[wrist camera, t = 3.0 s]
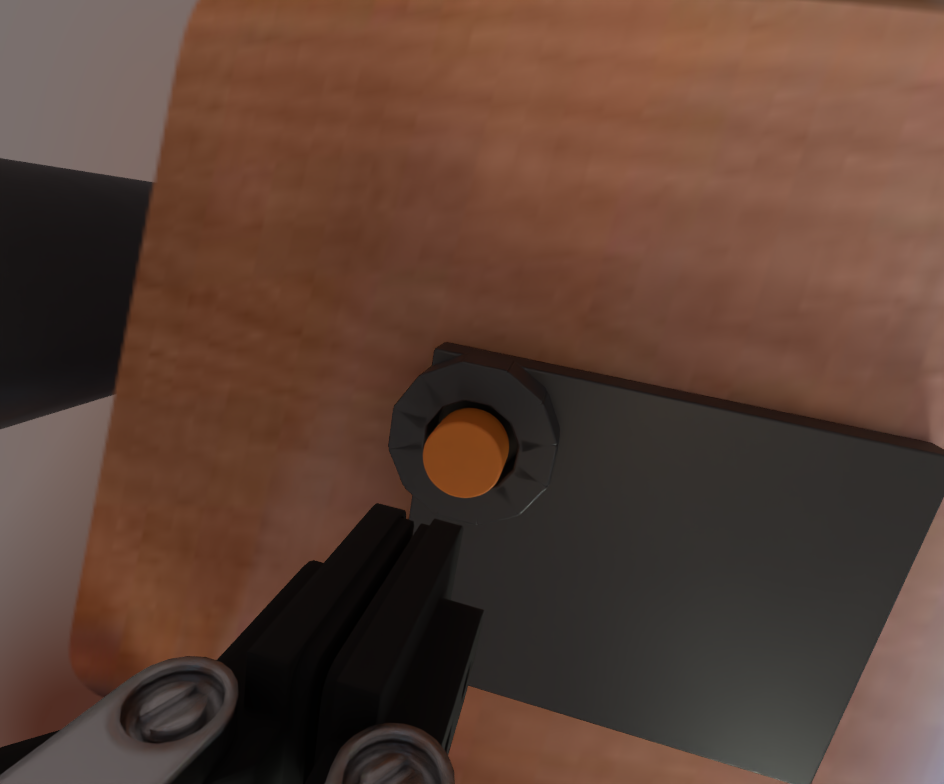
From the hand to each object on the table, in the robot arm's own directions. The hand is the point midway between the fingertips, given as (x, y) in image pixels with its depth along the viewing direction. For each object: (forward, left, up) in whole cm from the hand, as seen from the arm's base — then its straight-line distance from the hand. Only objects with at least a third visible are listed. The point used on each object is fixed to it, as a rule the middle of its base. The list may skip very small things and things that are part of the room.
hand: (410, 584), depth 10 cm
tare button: (0, 0, -8) cm, 8 cm away
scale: (+6, -4, -10) cm, 12 cm away
